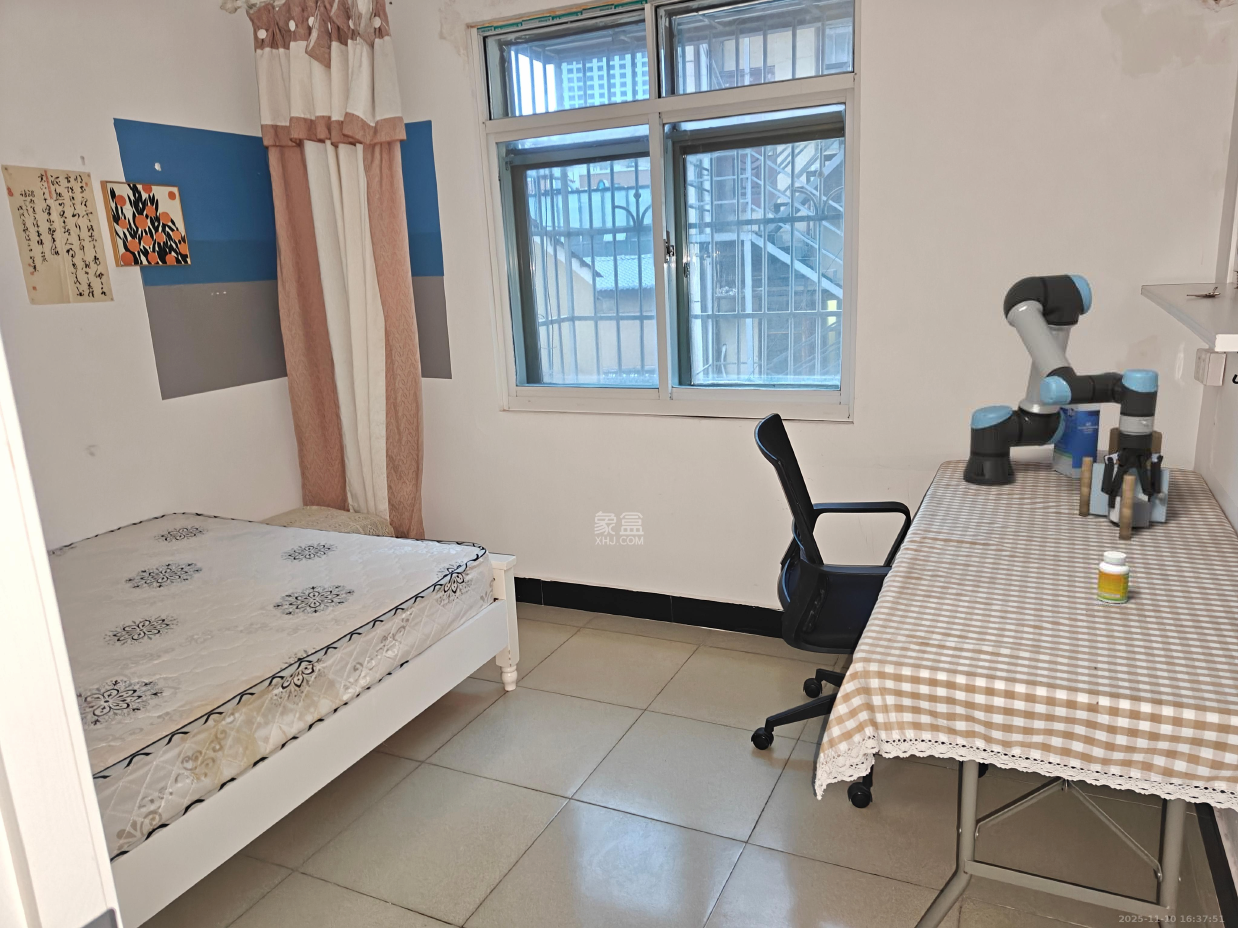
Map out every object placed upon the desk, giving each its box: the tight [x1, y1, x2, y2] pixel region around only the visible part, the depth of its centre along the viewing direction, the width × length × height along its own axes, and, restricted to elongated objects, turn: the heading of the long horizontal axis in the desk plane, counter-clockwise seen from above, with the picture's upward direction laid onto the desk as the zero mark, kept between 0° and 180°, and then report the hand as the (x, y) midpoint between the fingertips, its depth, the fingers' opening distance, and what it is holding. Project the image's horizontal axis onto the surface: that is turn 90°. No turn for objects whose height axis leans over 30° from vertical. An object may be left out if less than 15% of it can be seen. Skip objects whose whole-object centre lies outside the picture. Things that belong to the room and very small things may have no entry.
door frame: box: [1078, 457, 1135, 541], centre depth 214 cm, size 23×2×16 cm, turn 177°
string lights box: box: [1052, 403, 1102, 480], centre depth 266 cm, size 13×8×26 cm, turn 1°
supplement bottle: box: [1096, 550, 1130, 604], centre depth 170 cm, size 5×5×10 cm
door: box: [1089, 462, 1171, 523], centre depth 217 cm, size 17×4×14 cm, turn 52°
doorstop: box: [1107, 495, 1151, 528], centre depth 214 cm, size 8×6×6 cm
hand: (1127, 519), depth 214 cm, fingers closed on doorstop, 6 cm apart
